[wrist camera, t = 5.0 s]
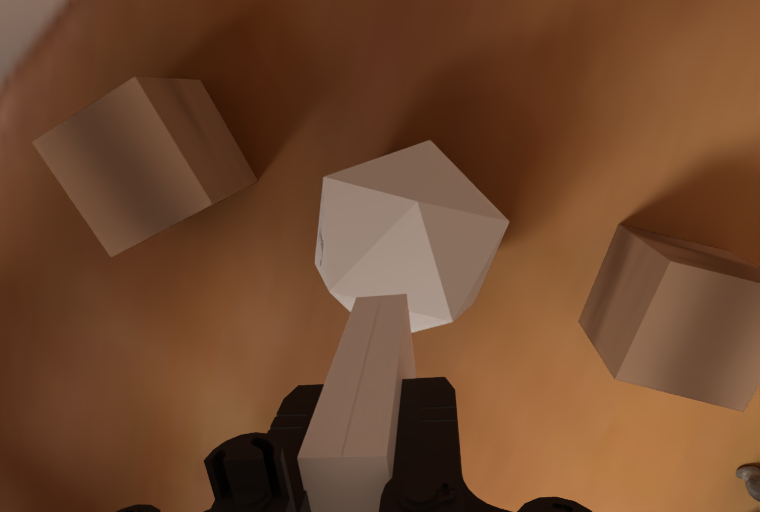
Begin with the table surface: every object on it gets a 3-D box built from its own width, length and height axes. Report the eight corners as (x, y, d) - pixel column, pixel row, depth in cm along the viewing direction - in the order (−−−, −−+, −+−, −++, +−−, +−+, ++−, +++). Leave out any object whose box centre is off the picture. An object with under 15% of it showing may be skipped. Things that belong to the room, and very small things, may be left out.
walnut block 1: (174, 224, 28) (110, 257, 23) (115, 131, 27) (31, 141, 21) (258, 180, 27) (212, 204, 21) (200, 79, 25) (135, 76, 20)
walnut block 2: (577, 320, 28) (614, 379, 22) (618, 223, 26) (670, 261, 20) (679, 346, 27) (743, 412, 22) (728, 250, 25) (812, 296, 20)
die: (415, 101, 25) (261, 153, 19) (567, 180, 21) (439, 278, 15) (387, 226, 31) (260, 299, 24) (504, 307, 27) (390, 417, 21)
